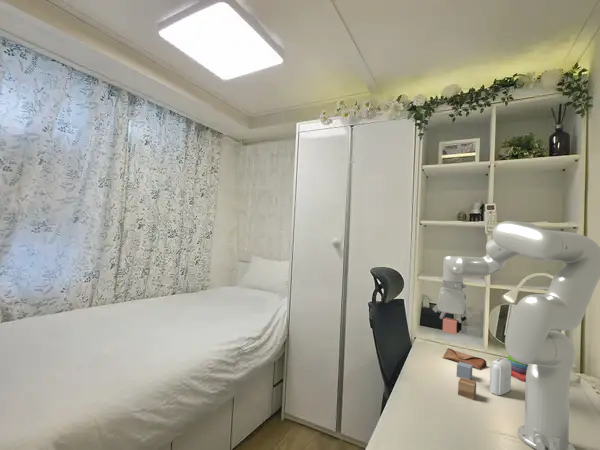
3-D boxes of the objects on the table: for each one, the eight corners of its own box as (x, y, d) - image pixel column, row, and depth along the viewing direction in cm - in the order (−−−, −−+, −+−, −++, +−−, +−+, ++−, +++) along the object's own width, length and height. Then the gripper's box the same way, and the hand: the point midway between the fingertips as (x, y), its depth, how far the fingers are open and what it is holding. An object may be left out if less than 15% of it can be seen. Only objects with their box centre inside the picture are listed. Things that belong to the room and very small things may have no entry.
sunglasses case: (440, 357, 145) (443, 344, 148) (444, 362, 149) (447, 349, 152) (482, 370, 132) (484, 356, 135) (485, 375, 136) (487, 361, 139)
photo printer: (499, 386, 117) (500, 354, 118) (512, 391, 114) (513, 358, 115) (487, 391, 112) (488, 358, 113) (500, 397, 108) (501, 362, 109)
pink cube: (456, 334, 117) (456, 321, 117) (442, 331, 120) (443, 319, 120) (458, 332, 121) (459, 319, 121) (445, 329, 124) (446, 317, 124)
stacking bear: (499, 372, 133) (501, 332, 134) (513, 369, 137) (514, 331, 138) (526, 383, 123) (527, 339, 124) (540, 380, 127) (541, 338, 128)
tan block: (473, 400, 104) (474, 386, 105) (457, 394, 107) (458, 381, 108) (475, 395, 108) (476, 381, 108) (460, 390, 111) (461, 376, 112)
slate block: (469, 380, 121) (470, 368, 121) (456, 376, 124) (456, 364, 124) (472, 377, 124) (472, 365, 125) (458, 373, 128) (459, 361, 128)
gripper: (477, 288, 119) (476, 333, 118) (433, 282, 130) (431, 324, 129) (474, 289, 113) (472, 337, 112) (428, 283, 124) (426, 326, 123)
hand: (450, 329), depth 120 cm, fingers closed on pink cube, 4 cm apart
